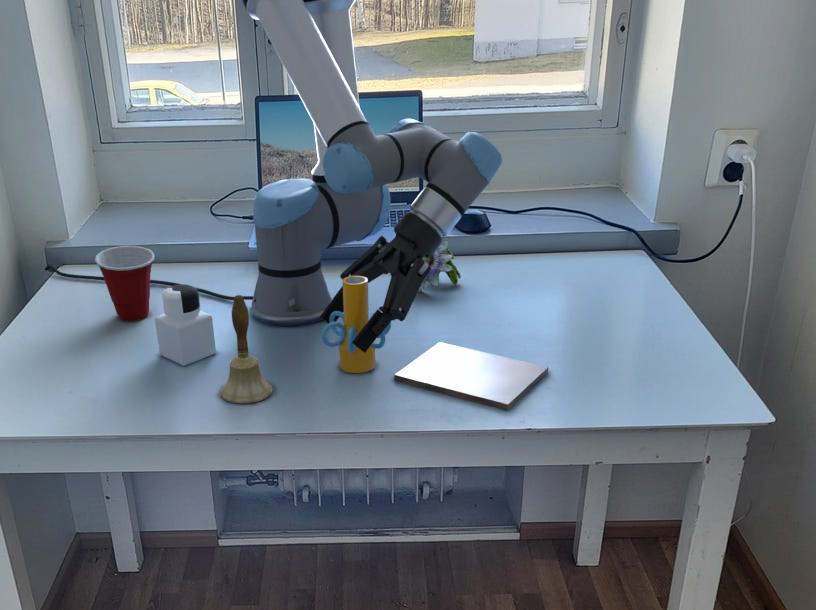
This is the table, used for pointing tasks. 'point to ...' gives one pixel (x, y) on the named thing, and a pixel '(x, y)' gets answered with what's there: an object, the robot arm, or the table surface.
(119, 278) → the plastic cup
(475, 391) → the plate
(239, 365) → the hand bell
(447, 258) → the passion flower
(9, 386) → the table surface
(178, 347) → the medicine bottle
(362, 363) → the cylinder
